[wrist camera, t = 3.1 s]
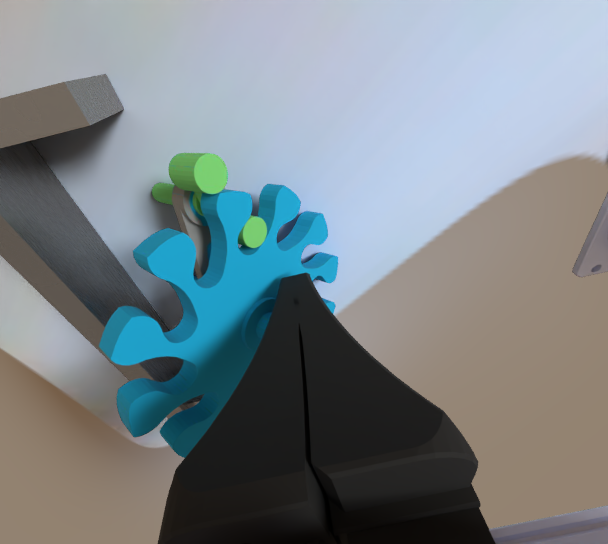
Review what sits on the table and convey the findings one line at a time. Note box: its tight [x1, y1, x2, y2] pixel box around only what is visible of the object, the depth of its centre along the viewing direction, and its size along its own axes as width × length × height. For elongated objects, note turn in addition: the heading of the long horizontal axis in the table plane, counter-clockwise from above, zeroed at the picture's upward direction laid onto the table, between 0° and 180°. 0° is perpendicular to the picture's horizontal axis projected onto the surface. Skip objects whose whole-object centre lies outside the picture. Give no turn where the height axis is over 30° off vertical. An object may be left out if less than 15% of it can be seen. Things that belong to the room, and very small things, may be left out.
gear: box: [99, 153, 338, 458], centre depth 12 cm, size 11×6×10 cm
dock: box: [0, 74, 204, 419], centre depth 13 cm, size 4×16×3 cm, turn 12°
